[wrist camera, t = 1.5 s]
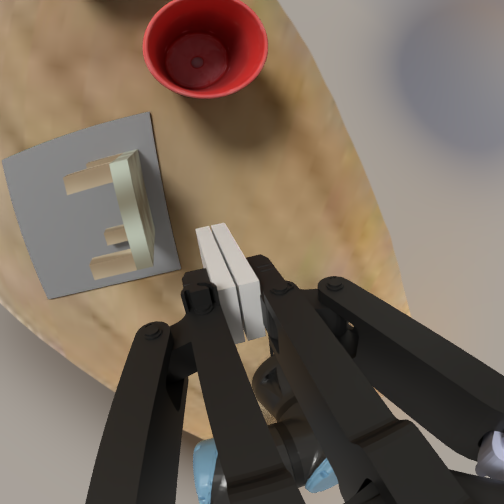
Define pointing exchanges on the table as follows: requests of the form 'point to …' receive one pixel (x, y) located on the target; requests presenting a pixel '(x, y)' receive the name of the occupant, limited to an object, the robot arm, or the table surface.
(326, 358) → the robot arm
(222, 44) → the flower pot
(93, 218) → the mat
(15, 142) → the table surface
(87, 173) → the stool
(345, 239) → the table surface
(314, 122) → the table surface
